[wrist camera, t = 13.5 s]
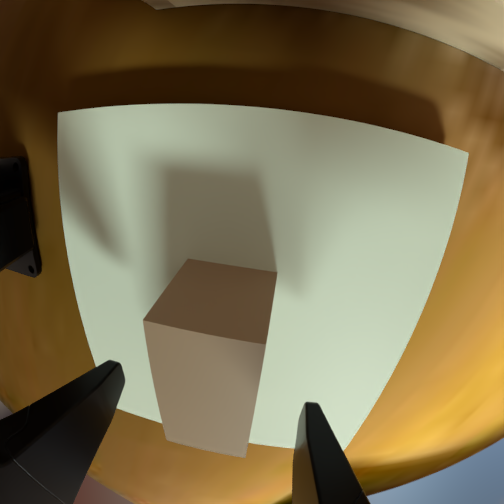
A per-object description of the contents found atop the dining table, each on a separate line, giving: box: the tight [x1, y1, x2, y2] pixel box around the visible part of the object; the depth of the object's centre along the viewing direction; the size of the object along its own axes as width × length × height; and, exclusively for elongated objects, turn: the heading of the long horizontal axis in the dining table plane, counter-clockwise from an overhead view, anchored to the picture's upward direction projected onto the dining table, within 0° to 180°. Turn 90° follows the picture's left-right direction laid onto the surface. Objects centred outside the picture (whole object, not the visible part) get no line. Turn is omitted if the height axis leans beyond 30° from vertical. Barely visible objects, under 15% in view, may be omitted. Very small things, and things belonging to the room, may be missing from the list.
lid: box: [57, 104, 469, 458], centre depth 10 cm, size 14×16×6 cm
